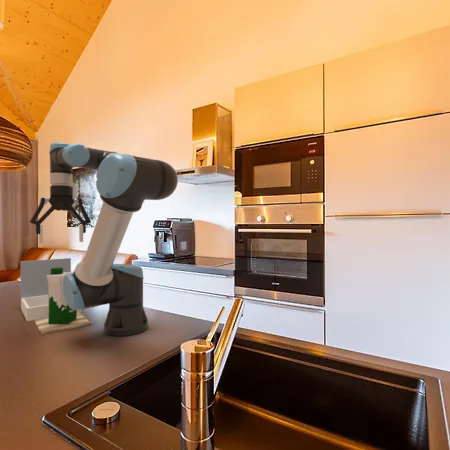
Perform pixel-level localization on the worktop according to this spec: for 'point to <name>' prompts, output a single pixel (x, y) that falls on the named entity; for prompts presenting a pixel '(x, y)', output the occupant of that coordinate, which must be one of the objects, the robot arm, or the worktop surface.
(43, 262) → the equipment case
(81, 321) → the wooden mat
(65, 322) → the soya milk
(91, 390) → the worktop surface
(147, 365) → the worktop surface
